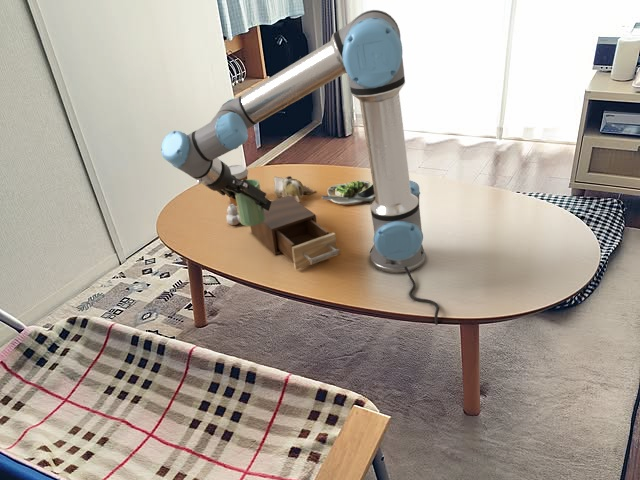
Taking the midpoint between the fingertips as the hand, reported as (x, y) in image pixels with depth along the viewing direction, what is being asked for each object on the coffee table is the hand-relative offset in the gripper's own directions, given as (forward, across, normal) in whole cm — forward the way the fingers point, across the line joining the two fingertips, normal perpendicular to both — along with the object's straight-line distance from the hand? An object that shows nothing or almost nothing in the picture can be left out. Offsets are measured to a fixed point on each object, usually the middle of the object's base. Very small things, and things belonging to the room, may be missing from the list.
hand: (257, 203), depth 162 cm
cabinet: (+17, +1, -4) cm, 18 cm away
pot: (0, 0, -5) cm, 5 cm away
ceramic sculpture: (+35, -12, +13) cm, 39 cm away
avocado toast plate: (+42, +8, +20) cm, 47 cm away
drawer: (+11, +15, -9) cm, 21 cm away
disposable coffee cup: (+29, -29, +7) cm, 42 cm away
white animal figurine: (+18, -19, -4) cm, 27 cm away
